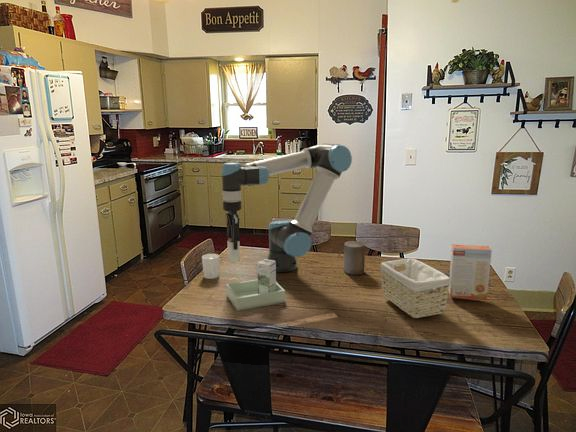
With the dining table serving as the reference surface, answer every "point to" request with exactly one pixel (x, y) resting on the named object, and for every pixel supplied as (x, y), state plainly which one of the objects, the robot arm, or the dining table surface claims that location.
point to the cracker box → (469, 271)
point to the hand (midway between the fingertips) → (233, 254)
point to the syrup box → (266, 276)
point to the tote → (252, 295)
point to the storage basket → (415, 287)
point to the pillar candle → (354, 257)
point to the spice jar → (230, 258)
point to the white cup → (210, 265)
